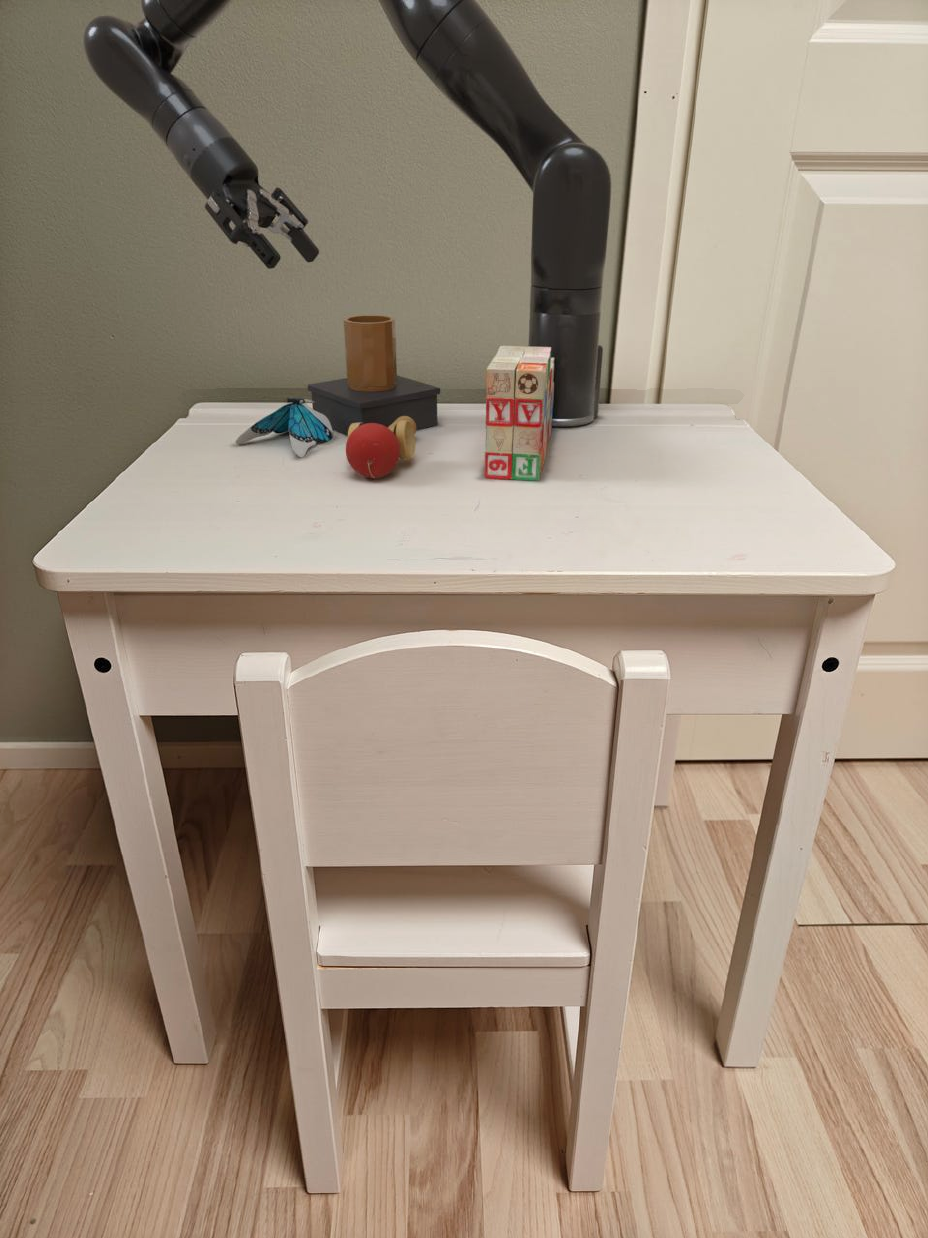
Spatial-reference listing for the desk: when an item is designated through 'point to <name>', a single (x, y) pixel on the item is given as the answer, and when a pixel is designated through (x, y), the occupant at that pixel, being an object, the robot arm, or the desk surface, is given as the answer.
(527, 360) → the stack of blocks
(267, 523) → the desk surface
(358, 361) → the cup
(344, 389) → the black lidded box
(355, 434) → the kendama
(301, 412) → the decorative butterfly
